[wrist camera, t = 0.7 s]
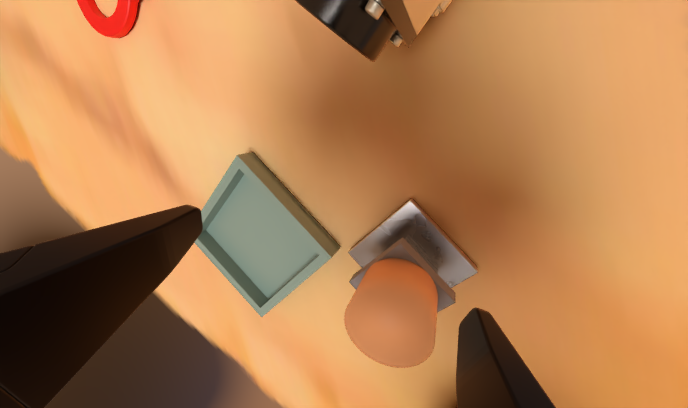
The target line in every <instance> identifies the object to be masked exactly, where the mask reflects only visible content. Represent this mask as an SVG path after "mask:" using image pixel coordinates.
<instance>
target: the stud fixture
mask: <svg viewBox="0 0 688 408" xmlns="http://www.w3.org/2000/svg"><path fill="white" fill-rule="evenodd" d="M402 237H403V238H404V239H405V240H406V241H407V242H408V243H409V244H410V245H411V246H412V247H413V249H414V250H415V251H416V252H417V253H418V254H419V255H420V256H421V257H422V258H423V259H424V260H425V261H426V262H427V263H428V264H429V266H430V267H431V268H432V269H433V270H434V271H435V272H436V273H437V274H438V275H439V276H440V277H441V278H442V279H443V280H444V281H445V283H446V284H447V285H448V286H449V287H450V288H452V287H454V286H455V285H457V284H459V283H460V282H462V281H464V280H466V279H467V278H469V277H471V276H473V275H474V274H476V273H478V269H477V266H476V265H475V264H474V263H473V262H472V261H471V260H470V259H469V258H468V257H467V256H466V255H465V254H464V252H463V251H462V250H461V249H460V248H459V247H458V246H457V245H456V244H455V243H454V242H453V241H452V240H451V239H450V238H449V237H448V236H447V235H446V234H445V232H444V231H443V230H442V229H441V228H440V227H439V226H438V225H437V224H436V223H435V222H434V221H433V220H432V219H431V218H430V217H429V216H428V215H427V214H426V212H425V211H424V210H423V209H422V208H421V207H420V206H419V205H418V204H417V203H416V202H415V201H414V200H413V199H412V198H411V199H410V200H409V201H407V202H406V203H405V204H404V205H403V206H401V207H400V208H399V209H398V210H397V211H395V212H394V213H393V214H392V215H391V216H389V217H388V218H387V219H386V220H385V221H383V222H382V223H381V224H380V225H379V226H377V227H376V228H375V229H374V230H373V231H371V232H370V233H369V234H368V235H367V236H365V237H364V238H363V239H362V240H361V241H360V242H358V243H357V244H356V245H355V246H354V247H352V248H351V249H350V251H349V252H348V253H349V254H350V255H351V256H352V257H353V259H354V260H355V261H356V262H357V263H358V264H359V265H360V266H361V267H362V268H363V267H364V266H366V265H367V264H368V263H370V262H371V261H372V260H373V259H375V258H376V257H377V256H379V255H380V254H381V253H383V252H384V251H385V250H387V249H388V248H389V247H391V246H392V245H393V244H394V243H396V242H397V241H398V240H400V239H401V238H402Z"/></svg>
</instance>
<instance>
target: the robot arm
mask: <svg viewBox="0 0 688 408" xmlns="http://www.w3.org/2000/svg"><path fill="white" fill-rule="evenodd" d="M202 230H203V223H202V215H201V210H200V209H199V208H197V207H194V206H191V205H183V206H179V207H176V208H172V209H168V210H164V211H160V212H156V213H153V214H149V215H145V216H141V217H137V218H134V219H130V220H126V221H122V222H118V223H115V224H111V225H107V226H103V227H99V228H96V229H92V230H88V231H84V232H80V233H76V234H73V235H69V236H65V237H61V238H57V239H54V240H50V241H46V242H42V243H39V244H36V245H35V246H33V245H31V246H27V247H23V248H19V249H16V250H12V251H8V252H4V253H0V408H44V407H45V406H46V405H47V404H48V403H49V402H50V401H51V400H52V399H53V398H54V397H55V396H56V395H57V394H58V392H60V390H61V389H62V388H63V387H64V386H65V385H66V384H67V383H68V382H69V381H70V380H71V379H72V378H73V377H74V375H75V374H76V373H77V372H78V371H79V370H80V369H81V368H82V367H83V366H84V365H85V364H86V363H87V362H88V360H89V359H90V358H91V357H92V356H93V355H94V354H95V353H96V352H97V351H98V350H99V349H100V348H101V347H102V346H103V344H104V343H105V342H106V341H107V340H108V339H109V338H110V337H111V336H112V335H113V334H114V333H115V332H116V331H117V330H118V329H119V327H120V326H121V325H122V324H123V323H124V322H125V321H126V320H127V319H128V318H129V317H130V316H131V315H132V314H133V312H134V311H135V310H136V309H137V308H138V307H139V306H140V305H141V304H142V303H143V302H144V301H145V300H146V299H147V298H148V297H149V295H150V294H151V293H152V292H153V291H154V290H155V289H156V288H157V287H158V286H159V285H160V284H161V283H162V282H163V281H164V279H165V278H166V277H167V276H168V275H169V274H170V273H171V272H172V271H173V269H174V268H175V267H176V266H177V264H178V263H179V262H180V260H181V259H182V258H183V256H184V255H185V254H186V253H187V251H188V250H189V249H190V247H191V246H192V245H193V243H194V242H195V241H196V240H197V238H198V237H199V236H200V234H201V232H202ZM456 394H457V408H556V407H555V406H554V404H553V403H552V402H551V400H550V399H549V397H548V396H547V394H546V393H545V391H544V390H543V389H542V387H541V386H540V384H539V383H538V381H537V380H536V379H535V377H534V376H533V374H532V373H531V371H530V370H529V368H528V367H527V366H526V364H525V363H524V361H523V360H522V358H521V357H520V356H519V354H518V353H517V351H516V350H515V348H514V347H513V345H512V344H511V343H510V341H509V340H508V338H507V337H506V335H505V334H504V333H503V331H502V330H501V328H500V327H499V325H498V324H497V322H496V321H495V320H494V318H493V317H492V315H491V314H490V313H489V312H487V311H484V310H482V309H479V308H473V309H472V310H471V311H470V312H469V313H468V314H467V316H466V317H465V318H464V319H463V320H462V322H461V323H460V326H459V335H458V353H457V370H456Z"/></svg>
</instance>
